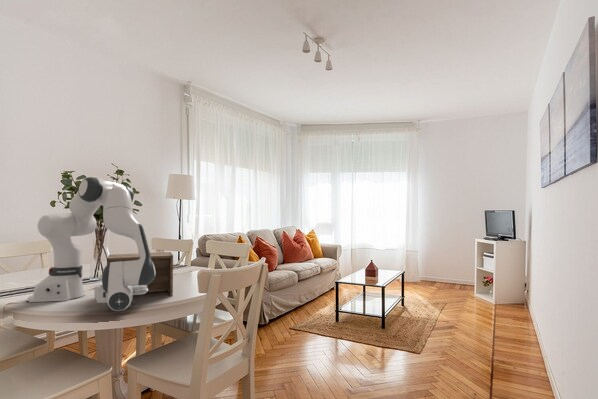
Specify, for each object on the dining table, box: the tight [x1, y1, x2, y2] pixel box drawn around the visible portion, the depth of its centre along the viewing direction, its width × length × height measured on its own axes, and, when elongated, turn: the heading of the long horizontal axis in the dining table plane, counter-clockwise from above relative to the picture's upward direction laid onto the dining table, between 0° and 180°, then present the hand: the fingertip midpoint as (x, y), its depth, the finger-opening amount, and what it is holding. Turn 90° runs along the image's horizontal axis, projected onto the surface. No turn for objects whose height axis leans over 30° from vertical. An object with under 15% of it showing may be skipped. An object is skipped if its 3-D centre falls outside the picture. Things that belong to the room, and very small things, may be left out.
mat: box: [107, 298, 135, 309], centre depth 165 cm, size 10×10×1 cm
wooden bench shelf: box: [106, 251, 174, 297], centre depth 181 cm, size 15×28×19 cm, turn 113°
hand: (122, 286), depth 166 cm, fingers open, 8 cm apart
